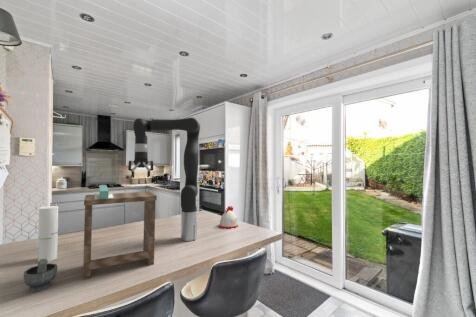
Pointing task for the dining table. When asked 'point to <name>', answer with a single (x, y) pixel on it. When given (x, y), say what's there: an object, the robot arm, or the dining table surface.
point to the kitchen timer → (228, 219)
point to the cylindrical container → (48, 233)
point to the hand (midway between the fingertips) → (140, 177)
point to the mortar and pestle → (40, 275)
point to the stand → (148, 230)
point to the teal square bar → (103, 191)
